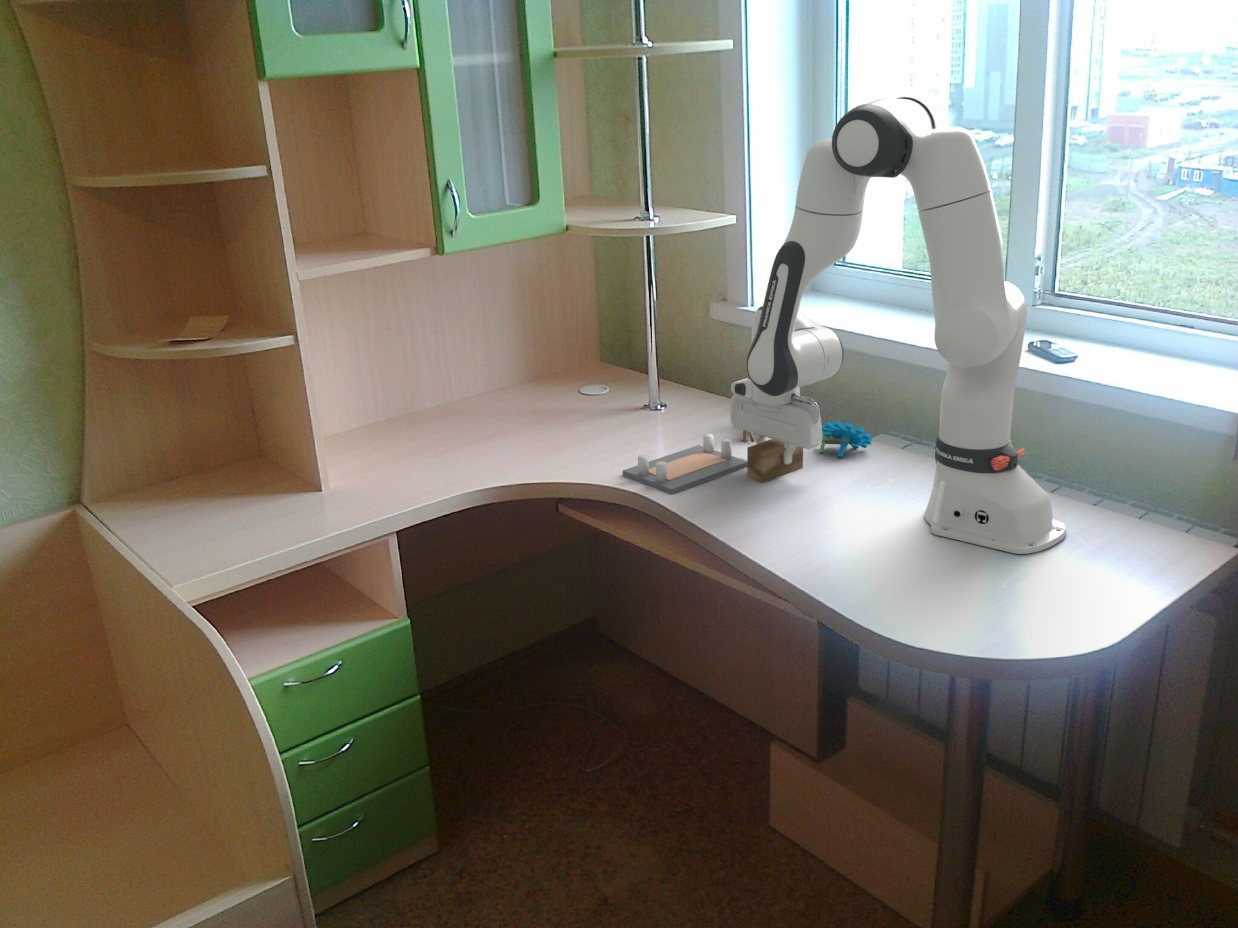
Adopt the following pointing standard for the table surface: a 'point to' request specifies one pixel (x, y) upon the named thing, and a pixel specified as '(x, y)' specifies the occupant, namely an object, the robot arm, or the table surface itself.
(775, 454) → the block
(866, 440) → the blue spiky animal toy
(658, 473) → the cradle
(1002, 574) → the table surface
